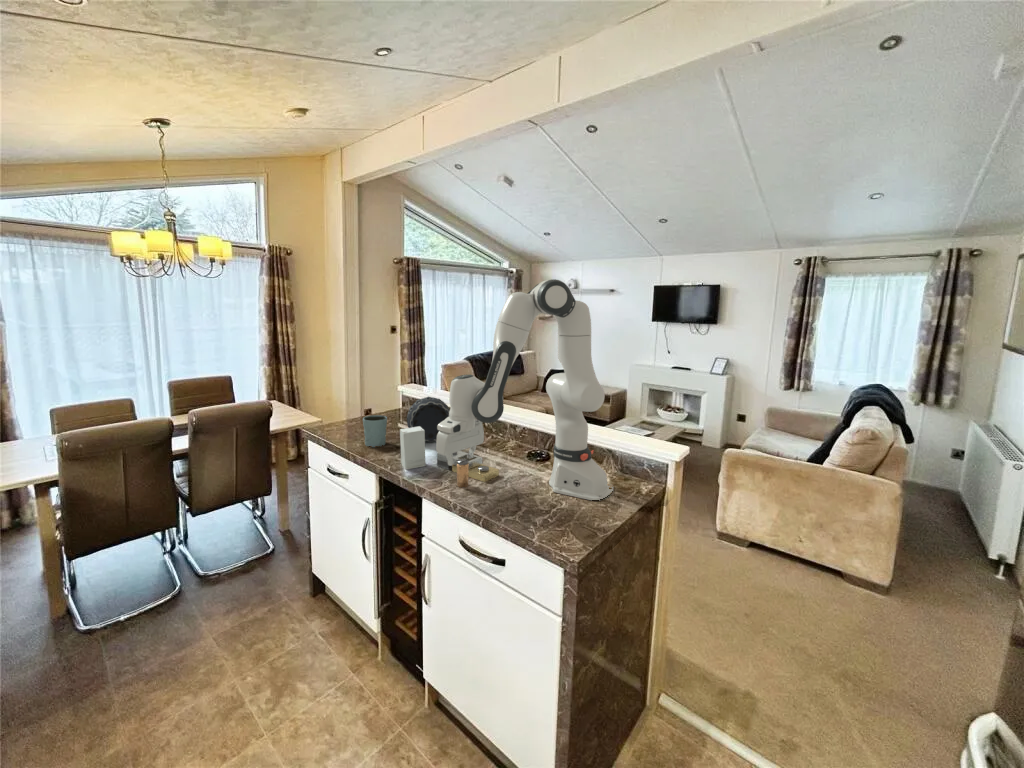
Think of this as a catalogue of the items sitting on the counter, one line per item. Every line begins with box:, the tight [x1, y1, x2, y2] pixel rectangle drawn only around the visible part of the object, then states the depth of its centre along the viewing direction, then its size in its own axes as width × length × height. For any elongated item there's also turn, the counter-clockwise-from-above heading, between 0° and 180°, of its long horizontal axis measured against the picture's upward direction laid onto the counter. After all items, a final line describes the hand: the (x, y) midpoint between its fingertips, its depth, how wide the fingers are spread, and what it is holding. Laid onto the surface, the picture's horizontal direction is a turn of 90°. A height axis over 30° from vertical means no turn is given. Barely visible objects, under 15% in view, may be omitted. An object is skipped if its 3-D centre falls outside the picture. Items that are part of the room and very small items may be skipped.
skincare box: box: [399, 426, 427, 471], centre depth 168 cm, size 8×6×15 cm
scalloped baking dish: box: [406, 396, 450, 443], centre depth 199 cm, size 11×20×20 cm, turn 107°
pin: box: [456, 459, 470, 489], centre depth 151 cm, size 4×4×9 cm
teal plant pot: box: [362, 414, 388, 448], centre depth 193 cm, size 10×10×12 cm
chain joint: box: [436, 450, 500, 483], centre depth 165 cm, size 24×8×6 cm, turn 53°
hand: (460, 461), depth 150 cm, fingers open, 8 cm apart
